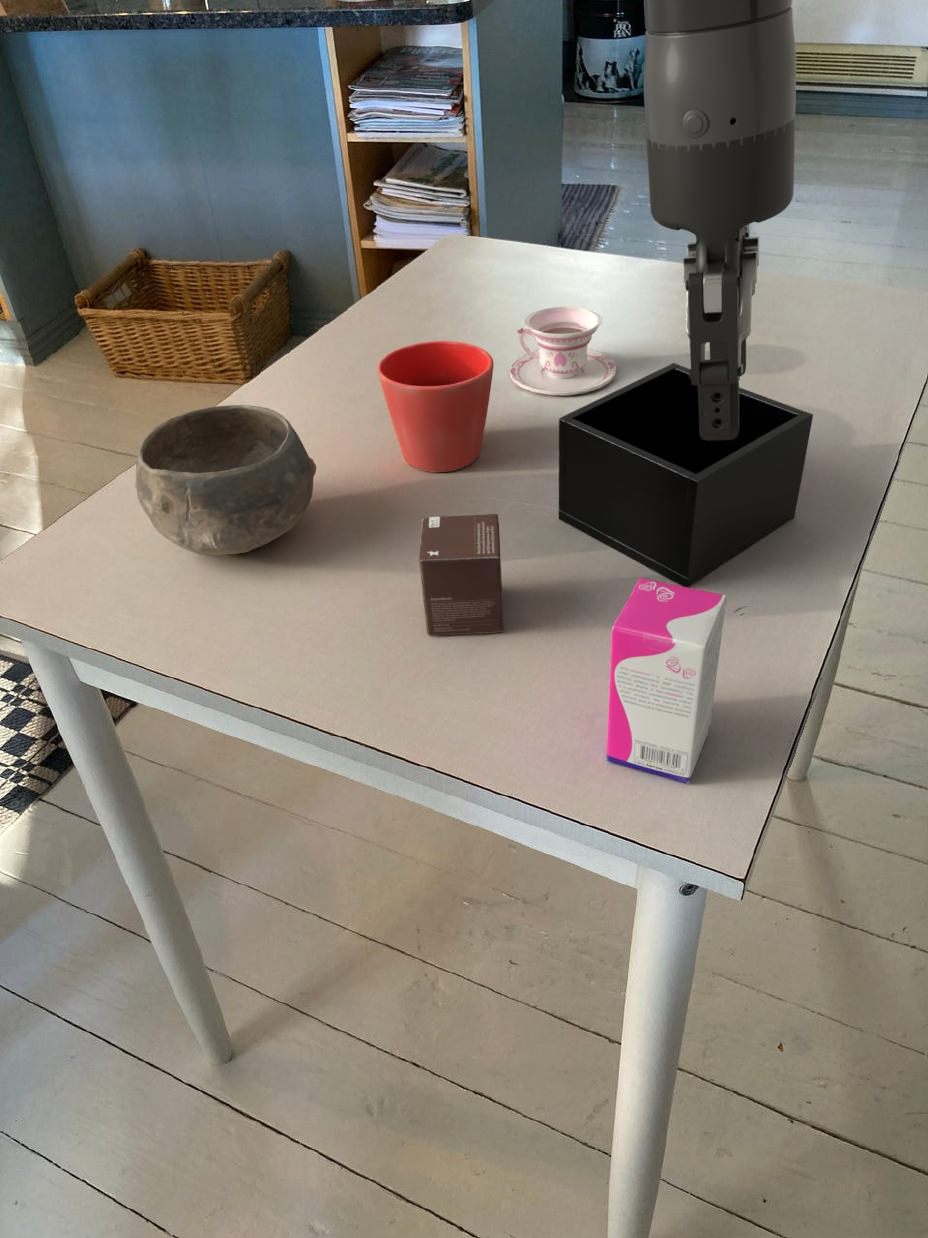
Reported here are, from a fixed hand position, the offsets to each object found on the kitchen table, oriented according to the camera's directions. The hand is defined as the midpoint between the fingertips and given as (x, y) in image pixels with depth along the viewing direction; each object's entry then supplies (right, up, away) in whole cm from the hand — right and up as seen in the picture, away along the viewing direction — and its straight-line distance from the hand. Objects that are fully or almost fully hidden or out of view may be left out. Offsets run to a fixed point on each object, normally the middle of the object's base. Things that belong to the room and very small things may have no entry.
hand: (724, 404), depth 61 cm
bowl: (-36, -6, +29) cm, 47 cm away
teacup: (-5, +14, +51) cm, 53 cm away
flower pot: (-18, +3, +38) cm, 43 cm away
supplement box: (-3, -22, +6) cm, 23 cm away
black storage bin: (+3, -4, +27) cm, 27 cm away
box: (-16, -13, +18) cm, 27 cm away
